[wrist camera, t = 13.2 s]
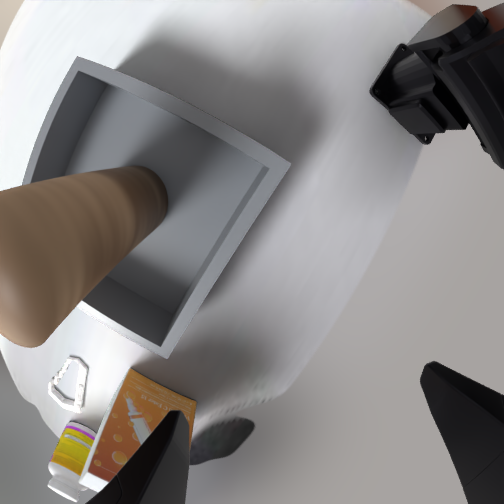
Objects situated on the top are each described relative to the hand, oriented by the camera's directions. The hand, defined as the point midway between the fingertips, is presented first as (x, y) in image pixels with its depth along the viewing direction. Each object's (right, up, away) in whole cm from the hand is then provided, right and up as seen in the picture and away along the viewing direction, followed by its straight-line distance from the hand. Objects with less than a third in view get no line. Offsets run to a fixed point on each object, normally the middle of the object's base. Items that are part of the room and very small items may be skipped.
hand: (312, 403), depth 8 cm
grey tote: (-10, +9, +10) cm, 17 cm away
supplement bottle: (-28, -23, +21) cm, 42 cm away
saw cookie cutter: (-25, -11, +18) cm, 32 cm away
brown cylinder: (-10, +9, +10) cm, 16 cm away
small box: (-13, -11, +17) cm, 24 cm away
